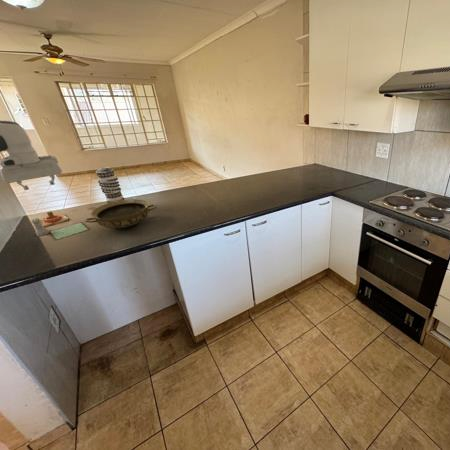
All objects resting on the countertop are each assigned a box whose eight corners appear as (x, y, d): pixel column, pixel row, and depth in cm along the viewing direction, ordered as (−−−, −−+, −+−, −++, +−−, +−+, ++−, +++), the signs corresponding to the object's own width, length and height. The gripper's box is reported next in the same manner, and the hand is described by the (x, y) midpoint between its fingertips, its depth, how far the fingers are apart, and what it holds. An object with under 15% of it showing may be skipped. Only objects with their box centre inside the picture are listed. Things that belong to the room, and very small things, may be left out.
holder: (43, 228, 124) (38, 217, 122) (39, 222, 130) (34, 212, 127) (68, 221, 131) (64, 211, 129) (63, 216, 137) (59, 206, 134)
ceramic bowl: (91, 244, 110) (81, 225, 105) (91, 225, 127) (83, 207, 122) (164, 225, 126) (159, 208, 121) (155, 210, 143) (151, 194, 138)
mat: (57, 240, 114) (56, 239, 113) (50, 232, 120) (50, 231, 120) (88, 230, 122) (88, 229, 122) (81, 223, 129) (80, 222, 128)
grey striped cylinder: (129, 206, 149) (115, 165, 137) (127, 211, 142) (112, 168, 130) (111, 208, 145) (95, 166, 134) (108, 214, 138) (91, 170, 126)
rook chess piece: (46, 231, 121) (38, 216, 118) (51, 233, 120) (43, 218, 116) (35, 235, 118) (26, 220, 114) (39, 237, 116) (30, 222, 112)
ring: (46, 223, 126) (44, 221, 125) (43, 220, 129) (41, 217, 129) (63, 219, 130) (62, 216, 130) (59, 215, 134) (58, 213, 134)
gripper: (53, 153, 123) (65, 180, 129) (-8, 161, 108) (9, 191, 115) (56, 155, 120) (69, 182, 126) (-6, 163, 105) (12, 194, 111)
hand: (40, 187), depth 120 cm, fingers open, 8 cm apart
